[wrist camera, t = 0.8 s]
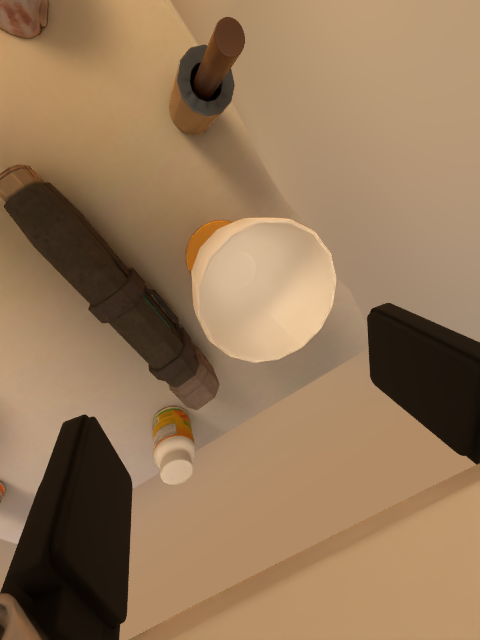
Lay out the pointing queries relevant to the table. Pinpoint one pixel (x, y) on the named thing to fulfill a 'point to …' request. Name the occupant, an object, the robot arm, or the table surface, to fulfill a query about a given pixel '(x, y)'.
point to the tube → (107, 284)
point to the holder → (186, 105)
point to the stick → (218, 57)
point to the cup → (260, 286)
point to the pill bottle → (1, 491)
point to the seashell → (23, 17)
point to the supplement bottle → (173, 445)
